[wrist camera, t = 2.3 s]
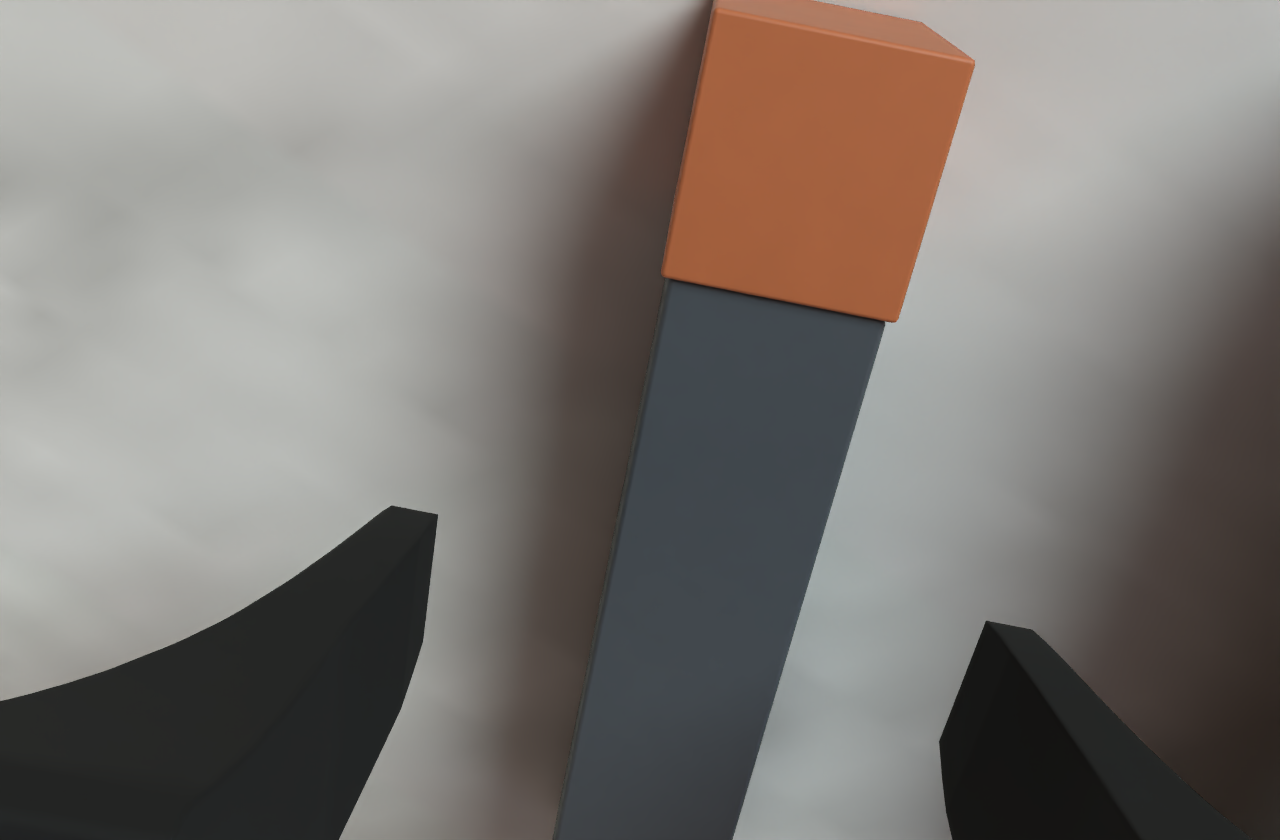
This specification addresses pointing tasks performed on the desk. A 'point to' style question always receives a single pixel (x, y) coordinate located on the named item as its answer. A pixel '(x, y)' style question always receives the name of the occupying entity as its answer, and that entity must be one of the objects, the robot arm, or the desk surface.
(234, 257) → the desk surface
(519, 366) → the desk surface
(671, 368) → the marker
